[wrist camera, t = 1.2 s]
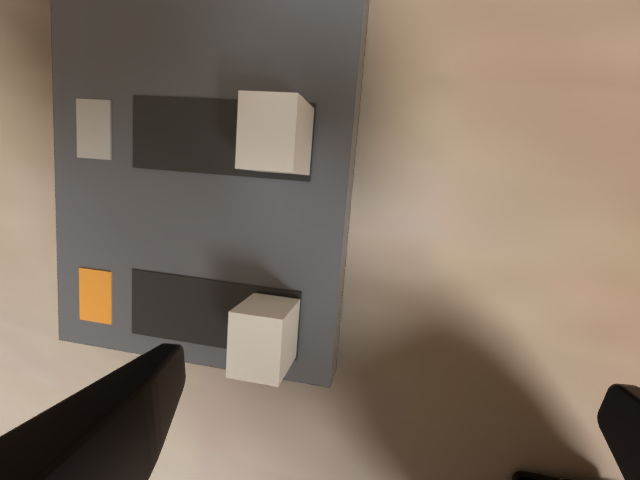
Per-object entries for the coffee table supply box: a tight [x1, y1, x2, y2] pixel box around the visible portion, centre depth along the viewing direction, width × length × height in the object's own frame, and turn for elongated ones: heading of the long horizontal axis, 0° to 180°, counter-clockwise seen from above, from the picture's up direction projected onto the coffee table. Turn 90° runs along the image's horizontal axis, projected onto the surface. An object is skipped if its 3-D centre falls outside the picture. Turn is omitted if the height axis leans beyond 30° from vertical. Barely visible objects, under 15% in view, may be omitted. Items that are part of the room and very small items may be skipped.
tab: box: [226, 293, 300, 387], centre depth 18 cm, size 3×2×3 cm
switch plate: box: [51, 0, 369, 388], centre depth 20 cm, size 24×16×2 cm, turn 175°
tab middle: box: [235, 90, 314, 175], centre depth 16 cm, size 3×2×3 cm
